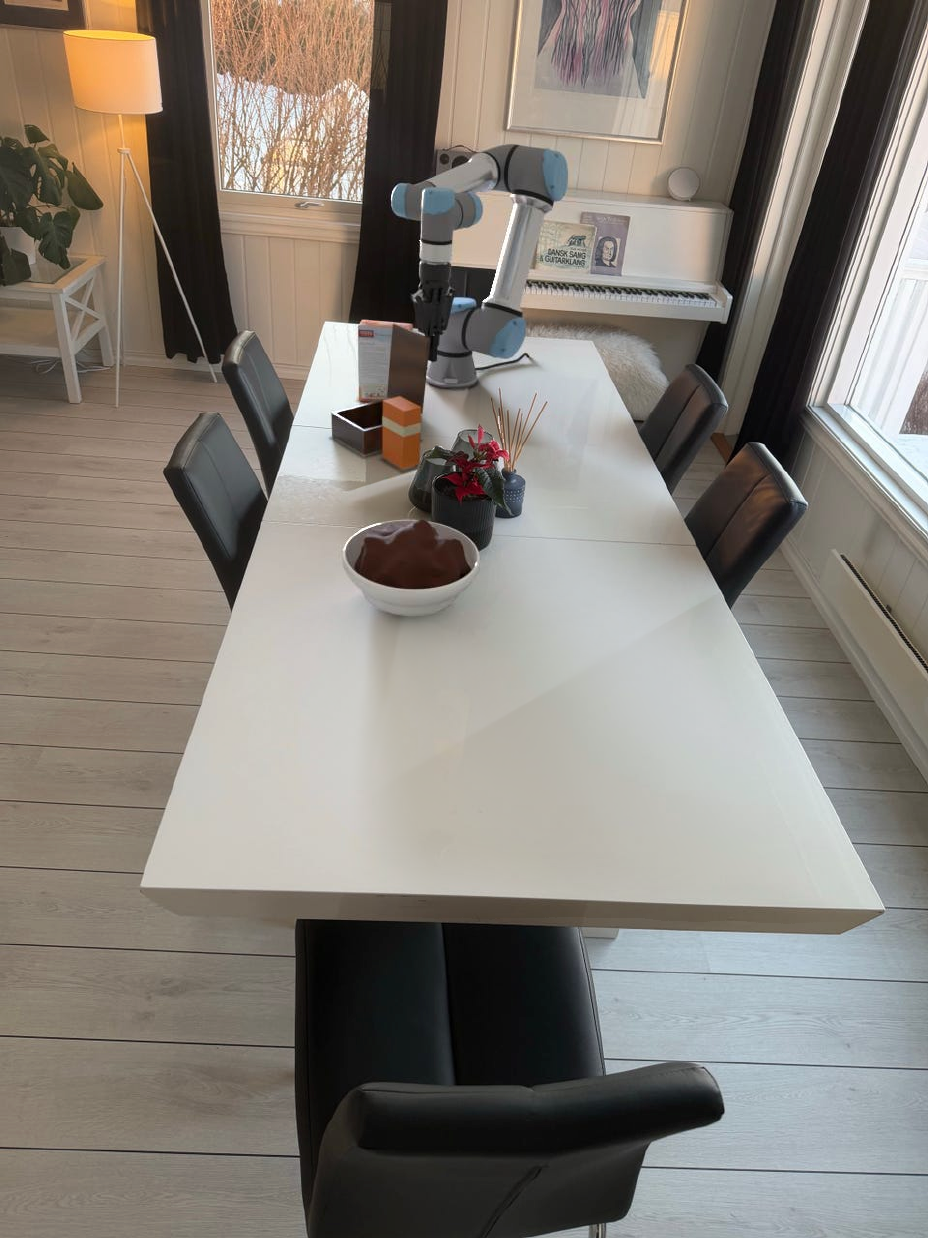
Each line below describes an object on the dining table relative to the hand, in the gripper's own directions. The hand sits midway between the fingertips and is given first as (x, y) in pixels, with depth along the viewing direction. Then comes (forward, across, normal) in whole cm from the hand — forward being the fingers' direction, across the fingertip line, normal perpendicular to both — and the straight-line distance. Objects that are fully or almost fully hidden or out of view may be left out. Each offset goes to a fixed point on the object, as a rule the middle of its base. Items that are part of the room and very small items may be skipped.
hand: (431, 359), depth 214 cm
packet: (+18, +20, +14) cm, 30 cm away
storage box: (+18, +17, 0) cm, 24 cm away
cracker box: (+18, -1, -20) cm, 27 cm away
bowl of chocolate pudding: (+18, +54, +60) cm, 83 cm away
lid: (+1, +8, 0) cm, 8 cm away
